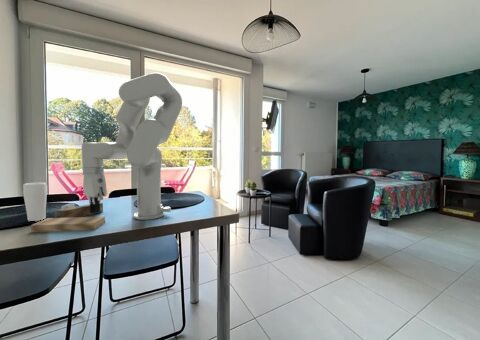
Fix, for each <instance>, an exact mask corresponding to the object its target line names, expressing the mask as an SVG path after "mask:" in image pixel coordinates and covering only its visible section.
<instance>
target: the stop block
mask: <svg viewBox="0 0 480 340" xmlns="http://www.w3.org/2000/svg"><path fill="white" fill-rule="evenodd" d="M72 207H76V204H75V203H72V202H71V203H67V204H64V205H61V209H67V208H72Z"/></svg>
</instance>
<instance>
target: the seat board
mask: <svg viewBox="0 0 480 340" xmlns="http://www.w3.org/2000/svg"><path fill="white" fill-rule="evenodd" d="M105 223H106V216H82V217H71V218H55V217H47V218H45V219H44V220H41V221H36V223H32V224H31V225H30V232H31V233H47V232H49V233H50V232H71V231H72V232H74V231H75V232H76V231H77V232H78V231H95V230H97V229H98V228H100V227H101V226H103V225H104V224H105Z"/></svg>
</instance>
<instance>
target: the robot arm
mask: <svg viewBox="0 0 480 340" xmlns="http://www.w3.org/2000/svg"><path fill="white" fill-rule="evenodd" d="M118 95H119V98H120V99H121V100H122V104H121V106H120V108H119V110H118V112H117V114H116V115H115V120H116V123H117V125H118V128H119V129H118V130H119V131H118V135H117V137H116V139H115V141H103V142H93V141H92V142H91V141H85V142H83V143H81V164H82V175H83V180H82V181H83V183H82V188H83V195H84V196H86V199H88V203H89V204H90V213H95V214H98V213H97V212H100V203H101V201H103V200H104V197H106V196H108V195H107V194H108V192H107V183H106V182H107V181H106V176H105V172H104V171H105V169H104V166H105V165H104V160H105V161H106V160H111V161H112V160H120V159H123V158H125V157H126V159H127V161H128V163H129V164H130V165H131V166H132V167H134V168H137V173H136V197H137V199H136V200H137V206H136V207H137V211H136V212H134V214H133V218H134V219H136V220H140V221H141V220H143V221H147V220H157V219H159V218H162V217H164V216H165V213H171V212H172V207H170V206H163V203H162V199H161V196H162V195H161V180H162V179H161V175H162V173H161V171H162V161H163V159H162V153H161V152H162V151H161V150H160V149H159V148H158V146H159V145H160V144H164V143H166V142H167V141H168V140H169V138H170V136H171V133H172V130H173V129H174V126H175V125H176V122H177V119H178V117H179V115H180V113H181V110H182V107H183V98H182V96H181V94H180V92H179V90H178V89H177V88H176V86H175V85H174V84H173V82H171V81H170V79H169V78H168V77H167V76H166V75H165V74H163V73H160V72H150V73H148V74H145V75H141V76H139V77H136V78H132V79H130V80H127V81H126V82H124V83H122V84H121V85H120V86H119V89H118ZM153 97H157V98H158V99H159V100H161V105H160V106H159V107H158V108H157V111H156V113H155V114H154V117H153V118H147V119H145V120H143V121H142V122H141V123H140V124H139V122H140V120H141V118H142V117H143V115H144V114H145V111H146V109H147V107H148V106H149V104H150V98H153ZM138 124H139V125H138ZM137 126H138V127H137ZM100 213H101V212H100Z"/></svg>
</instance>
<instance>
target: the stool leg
mask: <svg viewBox="0 0 480 340" xmlns="http://www.w3.org/2000/svg"><path fill="white" fill-rule="evenodd" d="M103 204H104V203H103V202H100V212H97V213H90V203H89V204H88V203H87V204H84V205H78V206H75V207H72V208H67V209H62V208H61V209H59V208H58V209H55V210H53V212H54V218H71V217H88V216H90V215H94V214H95V215H96V214H98V213H99V214H100V213H103V212H104V205H103Z"/></svg>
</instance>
